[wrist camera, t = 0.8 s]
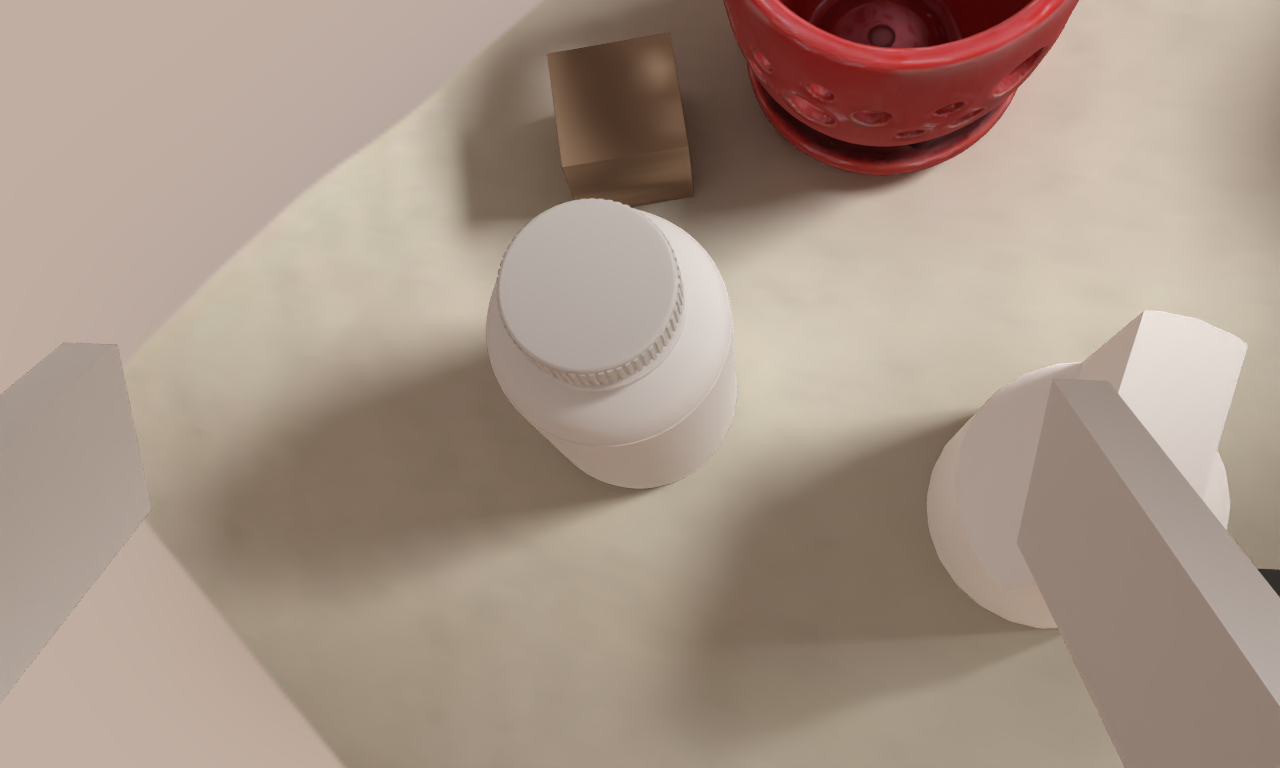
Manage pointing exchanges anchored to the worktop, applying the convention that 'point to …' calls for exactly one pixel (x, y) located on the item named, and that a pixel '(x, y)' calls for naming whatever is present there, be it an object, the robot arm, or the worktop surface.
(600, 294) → the pill bottle
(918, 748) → the worktop surface
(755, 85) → the plant pot
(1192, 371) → the cylinder with rectangular tab
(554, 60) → the brown cube
